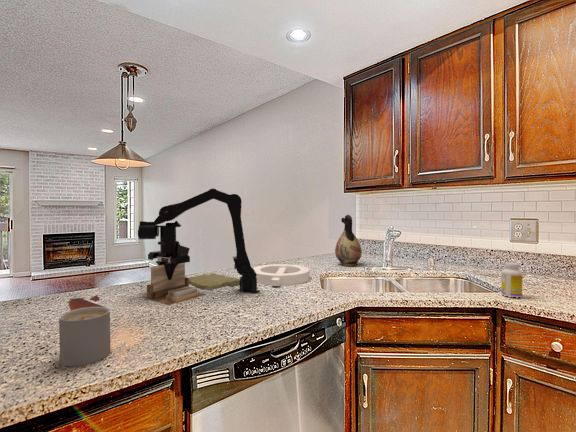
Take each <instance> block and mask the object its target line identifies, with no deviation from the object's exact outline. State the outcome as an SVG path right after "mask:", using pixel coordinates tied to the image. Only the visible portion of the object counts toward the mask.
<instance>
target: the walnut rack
mask: <svg viewBox="0 0 576 432" xmlns="http://www.w3.org/2000/svg"><path fill="white" fill-rule="evenodd" d="M187 286H189V287H190V284H189V277H187V276H185V285H181V286H177V287H173V288H168V289H164V290H160V291H156V292H154V294H153V285H151V284H146V296H143V297H142V299H145V300H149V301H153V302H156V303H159V304H163V305H166V306H171V305H174V304H177V303H181V302H184V301H185V302H186V301H189V300H191V299H195V298H199V297H203V296H206V295H207V293H204V292H199V291H198V292H199V296H197V297H194V298H190V299H187V300H183V301H180V302H173V301H169V300H166V295H168V291H171V290H175V289H179V288H183V287H187Z"/></svg>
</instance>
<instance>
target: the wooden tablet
mask: <svg viewBox="0 0 576 432" xmlns="http://www.w3.org/2000/svg"><path fill="white" fill-rule="evenodd" d="M89 300H90V301H89ZM89 300H86V297H75V298H73V299H69V301H68V306H69V309H70V311H72V310H76V309H80V308H87V307H104V306H103V305H100V304H98V303H97V302H98V301H100V300H101V299H100V297H99V295H96V294H95V295H92V296H91V297H89Z"/></svg>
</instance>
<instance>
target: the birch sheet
mask: <svg viewBox="0 0 576 432" xmlns="http://www.w3.org/2000/svg"><path fill="white" fill-rule="evenodd" d="M185 277H186V263H180V264H178V265H177V266H176V268H175V270H174V273H173V276H172V279H171V280H168V277H167V274H166V270H165V266H164V265H159V266H158V265H156V266H151V267H150V285H153V294H154V292H156V291H160V290H164V289H168V288H173V287H177V286H181V285H185Z"/></svg>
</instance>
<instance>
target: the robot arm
mask: <svg viewBox="0 0 576 432" xmlns="http://www.w3.org/2000/svg"><path fill="white" fill-rule="evenodd" d="M211 200H216V201H218V202H222V203H224V204H225V205H227V208H228V211H229V214H230V217H231V224H232V230H233V236H234V243H235V251H236V254H235V255H236V256H232V260H233V262H234V265H233V267H234V270H236V273H238V274H239V275H241V276H240V277H239V279H240V285H239V291H240V292H243V293H251V294H256V293H257V294H258V293H260V290H258V283H257V277H256V275H257V274H256V272H255V270H254V269H253V268H254V267H252V265H251V263H250V262H251V261H250V259H249V256H248V253H247V250H246V243H245V237H244V229H243V222H242V202H243V201H242V198H241V196H240V195H239V194H237V193H231V194H228V193H226V192H223V191H221V190H218V189H216V188H210V189H208V190H207V191H204V192H202V193H200V194H198V195H195V196H192V197H191V198H188V199H186V200H184V201H181V202H177V203H172V204H169V205H165V206H162V207H161V208H159V211H158V216H157V217H156V218H155V220H154V221H143V220H142V221H139V225H138V230H137V237H138V240H156V239H157V237H160V238H159V239H160V240H159V241H158V242H157V245H159V246H160V248H159V249H160V250H157V251H149V253H148V254H147V260H150V261H153V260H154V259H155V260H156V259H157V261H155V263H156V264H157V266H159V265H164V266H165V270H166V274H167V277H168V280H171V279H172V276H173V273H174V270H175V268H176V266H177V265H178V264H180V263H185V264H186V263H190V262H191V256H189V254H190V247H187V246H184V245H181V244H180V242H179V240H177V228H180V227H182V224H181V223H180V222H179V221H178V220H176V219H177V218H178V217H179V216H181V215H182V214H184V213H185V212H187V211H188V210H191V209H193V208H195V207H198V206H200V205H203V204H205V203H208V202H209V201H211ZM174 220H175V221H174ZM170 221H174V222H170ZM164 223H165V225H164ZM161 224H163V225H161Z"/></svg>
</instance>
